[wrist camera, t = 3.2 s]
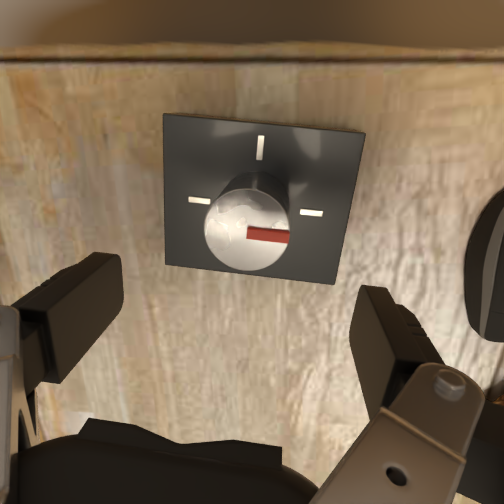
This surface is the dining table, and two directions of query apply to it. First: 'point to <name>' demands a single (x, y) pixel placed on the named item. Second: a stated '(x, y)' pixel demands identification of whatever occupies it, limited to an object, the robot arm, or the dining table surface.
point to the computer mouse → (487, 274)
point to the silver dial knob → (249, 222)
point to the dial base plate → (270, 162)
